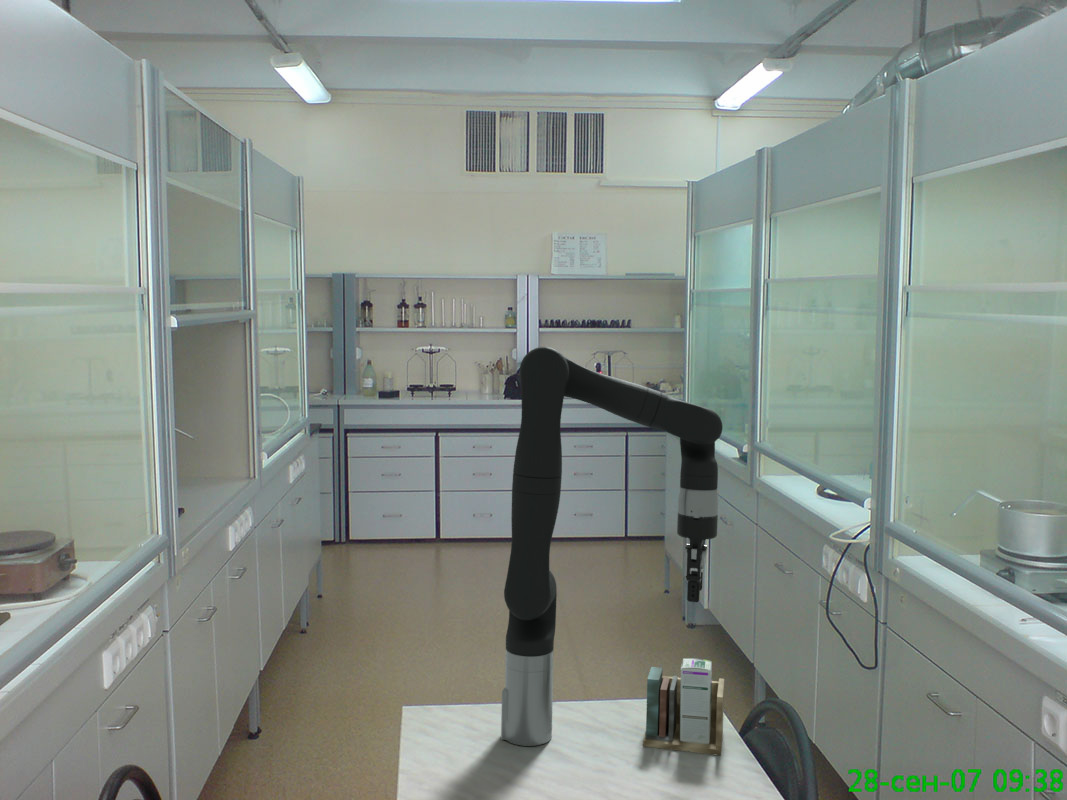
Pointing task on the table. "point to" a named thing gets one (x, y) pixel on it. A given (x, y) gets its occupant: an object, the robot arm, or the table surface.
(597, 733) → the table surface
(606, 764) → the table surface
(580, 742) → the table surface
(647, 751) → the table surface
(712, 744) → the shelf
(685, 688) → the syrup box
